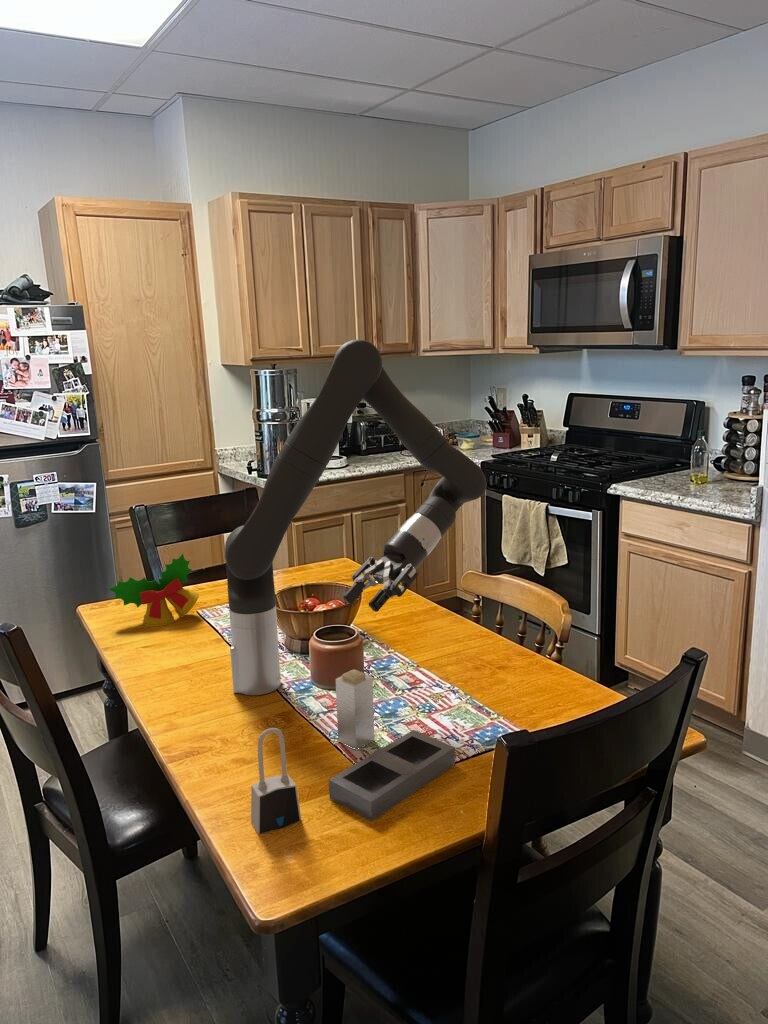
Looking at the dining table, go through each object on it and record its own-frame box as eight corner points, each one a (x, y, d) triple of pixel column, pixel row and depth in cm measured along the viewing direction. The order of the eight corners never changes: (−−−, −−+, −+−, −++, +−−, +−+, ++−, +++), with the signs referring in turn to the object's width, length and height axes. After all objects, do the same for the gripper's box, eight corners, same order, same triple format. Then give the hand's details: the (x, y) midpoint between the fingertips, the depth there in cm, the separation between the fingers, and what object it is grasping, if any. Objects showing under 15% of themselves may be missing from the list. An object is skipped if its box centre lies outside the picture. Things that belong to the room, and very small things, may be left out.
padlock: (258, 835, 112) (252, 740, 109) (250, 820, 116) (243, 728, 112) (302, 821, 115) (297, 729, 112) (292, 807, 119) (287, 716, 115)
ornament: (135, 646, 195) (109, 602, 186) (130, 627, 201) (106, 584, 193) (212, 611, 199) (191, 567, 190) (206, 593, 206) (185, 550, 197)
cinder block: (371, 821, 115) (371, 801, 114) (329, 798, 120) (328, 779, 120) (455, 764, 129) (454, 747, 128) (413, 746, 135) (413, 729, 134)
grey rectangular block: (356, 750, 134) (353, 681, 131) (338, 742, 137) (335, 674, 134) (374, 740, 137) (372, 673, 134) (356, 732, 140) (353, 666, 137)
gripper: (380, 526, 153) (327, 585, 147) (425, 531, 141) (369, 596, 135) (401, 553, 156) (349, 612, 150) (446, 560, 145) (392, 625, 138)
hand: (359, 604), depth 143 cm, fingers open, 8 cm apart
